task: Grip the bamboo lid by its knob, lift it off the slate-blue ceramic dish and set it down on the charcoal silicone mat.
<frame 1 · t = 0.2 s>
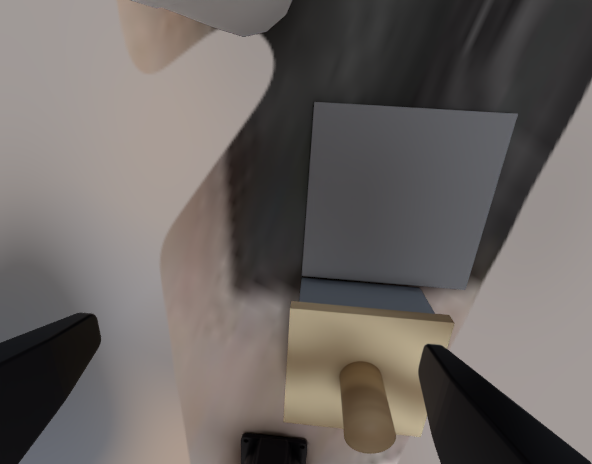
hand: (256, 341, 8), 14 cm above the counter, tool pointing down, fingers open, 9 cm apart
lid: (358, 368, 21), point 4 cm above the counter, touching dish
dish: (352, 330, 25), on the counter
mat: (394, 202, 21), on the counter
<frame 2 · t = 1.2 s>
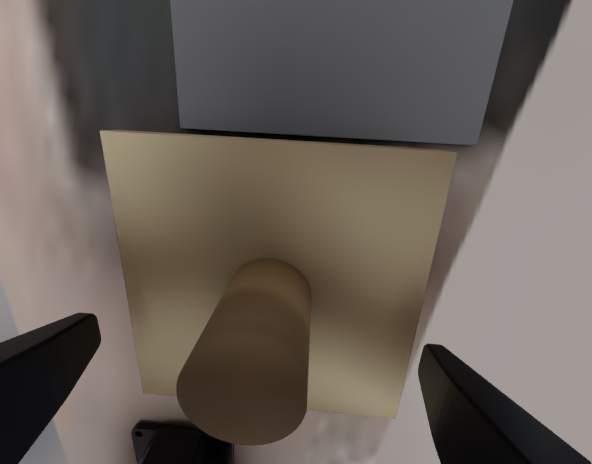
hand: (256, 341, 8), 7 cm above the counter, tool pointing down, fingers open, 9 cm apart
lid: (273, 284, 11), point 4 cm above the counter, touching dish
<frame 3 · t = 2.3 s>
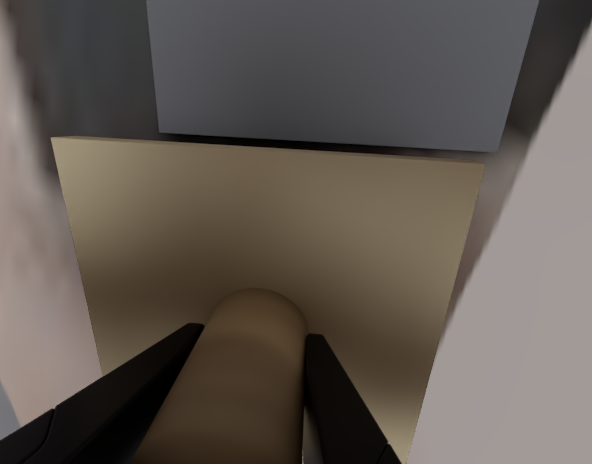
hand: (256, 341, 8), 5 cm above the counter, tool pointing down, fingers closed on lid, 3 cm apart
lid: (263, 314, 9), point 4 cm above the counter, touching dish, gripper
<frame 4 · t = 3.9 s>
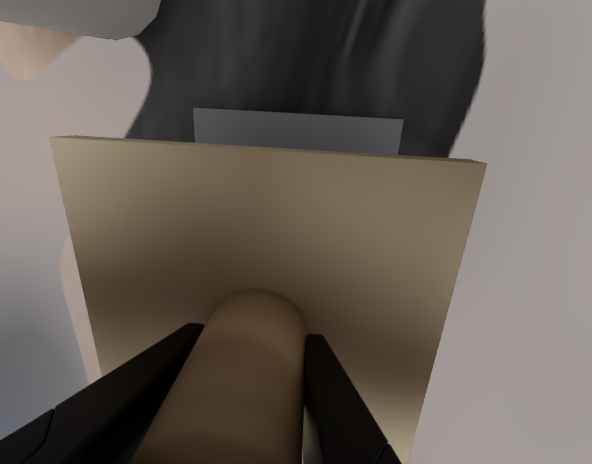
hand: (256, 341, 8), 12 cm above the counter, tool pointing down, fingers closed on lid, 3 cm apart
lid: (263, 314, 9), point 11 cm above the counter, touching gripper
mat: (292, 211, 20), on the counter
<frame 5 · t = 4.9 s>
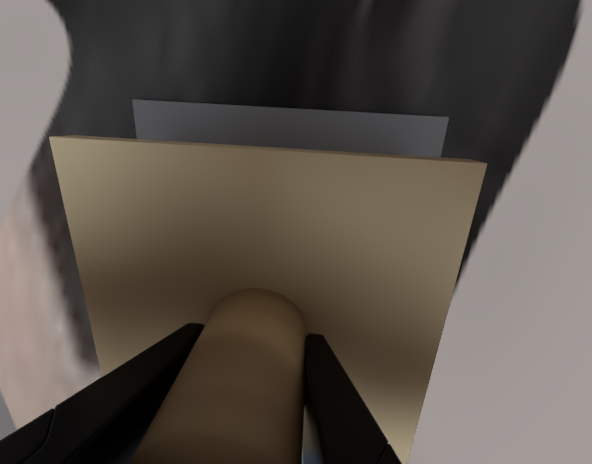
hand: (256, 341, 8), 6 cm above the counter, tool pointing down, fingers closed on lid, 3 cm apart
lid: (263, 314, 9), point 5 cm above the counter, touching gripper
mat: (282, 247, 14), on the counter
when the fingers open (3 cm above the counter, at t = 5.7 s): lid drops 2 cm, resting on mat.
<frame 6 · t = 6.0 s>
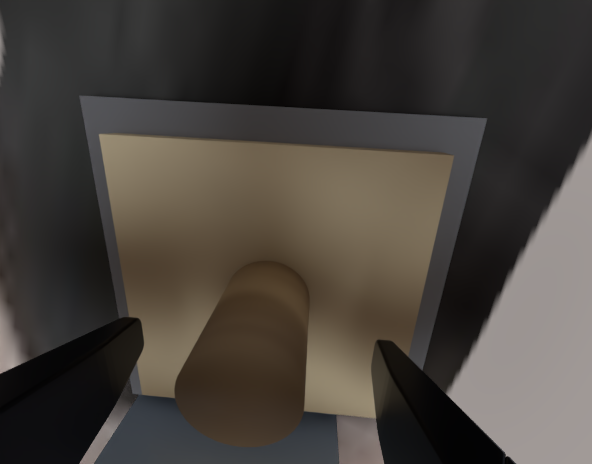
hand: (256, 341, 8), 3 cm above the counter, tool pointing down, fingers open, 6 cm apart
lid: (271, 286, 11), point 1 cm above the counter, touching mat
mat: (273, 277, 11), on the counter
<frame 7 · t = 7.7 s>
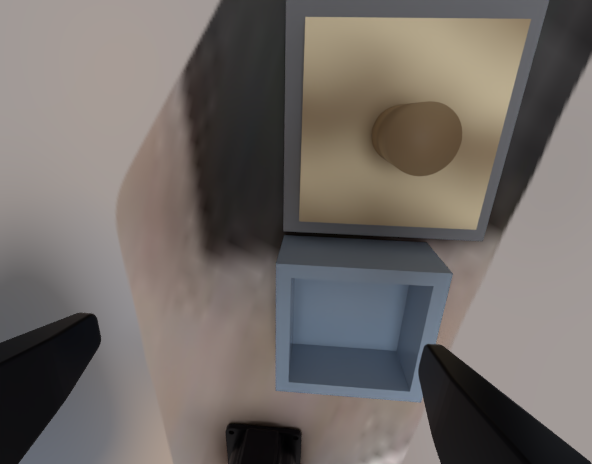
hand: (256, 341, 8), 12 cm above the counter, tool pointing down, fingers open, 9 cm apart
lid: (395, 133, 16), point 1 cm above the counter, touching mat
dish: (348, 298, 21), on the counter
mat: (393, 132, 17), on the counter
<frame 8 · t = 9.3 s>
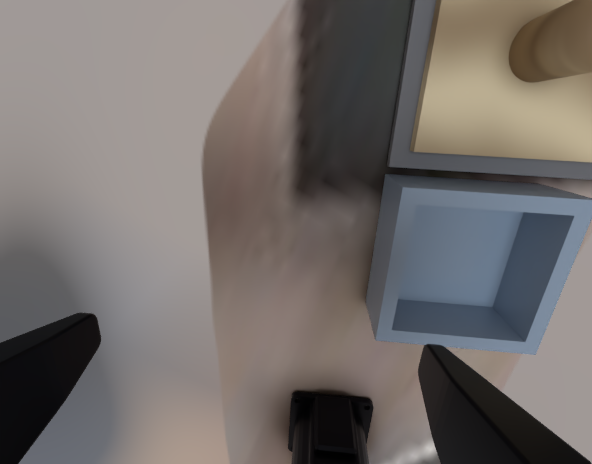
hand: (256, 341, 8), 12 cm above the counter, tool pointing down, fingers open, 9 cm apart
lid: (529, 53, 15), point 1 cm above the counter, touching mat
dish: (444, 248, 20), on the counter
mat: (521, 55, 16), on the counter
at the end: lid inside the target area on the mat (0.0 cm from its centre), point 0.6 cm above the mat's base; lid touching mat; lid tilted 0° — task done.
